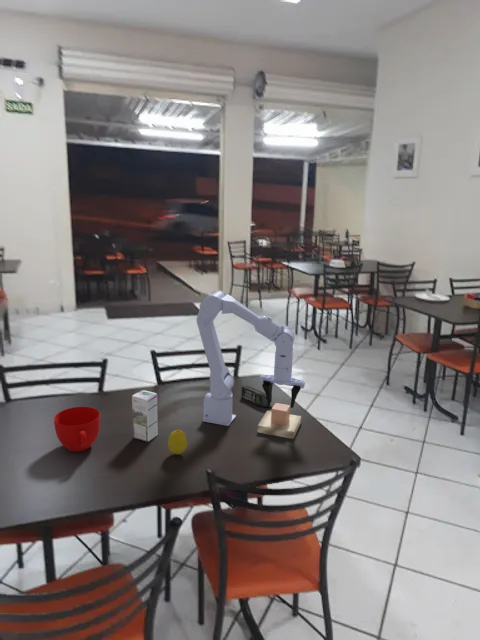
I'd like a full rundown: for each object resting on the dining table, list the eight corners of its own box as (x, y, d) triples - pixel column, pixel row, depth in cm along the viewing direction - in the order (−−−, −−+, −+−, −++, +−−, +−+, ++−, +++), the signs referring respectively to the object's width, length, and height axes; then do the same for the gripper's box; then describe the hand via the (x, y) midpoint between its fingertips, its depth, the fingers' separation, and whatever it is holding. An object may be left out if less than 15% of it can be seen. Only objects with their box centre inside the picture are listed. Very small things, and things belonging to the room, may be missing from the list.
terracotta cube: (270, 422, 157) (271, 408, 156) (274, 416, 161) (275, 402, 160) (285, 425, 155) (286, 411, 154) (289, 419, 160) (290, 405, 159)
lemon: (183, 460, 137) (183, 435, 135) (165, 458, 138) (165, 433, 136) (189, 451, 143) (189, 426, 141) (171, 448, 144) (171, 424, 142)
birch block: (257, 433, 155) (257, 425, 155) (266, 418, 166) (267, 410, 166) (293, 440, 152) (294, 432, 151) (300, 424, 163) (301, 416, 162)
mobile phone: (240, 386, 180) (269, 397, 170) (245, 384, 182) (275, 395, 172) (240, 398, 181) (269, 410, 171) (245, 396, 184) (275, 408, 173)
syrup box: (158, 434, 152) (158, 392, 148) (147, 442, 146) (146, 399, 143) (143, 430, 154) (142, 388, 150) (132, 438, 149) (131, 395, 145)
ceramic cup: (61, 468, 131) (58, 436, 129) (53, 440, 146) (51, 410, 143) (108, 458, 137) (107, 426, 135) (96, 432, 152) (95, 403, 149)
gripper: (258, 366, 152) (256, 405, 155) (303, 373, 148) (300, 413, 151) (264, 359, 158) (262, 397, 162) (307, 366, 154) (304, 404, 158)
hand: (280, 404), depth 157 cm, fingers open, 7 cm apart
